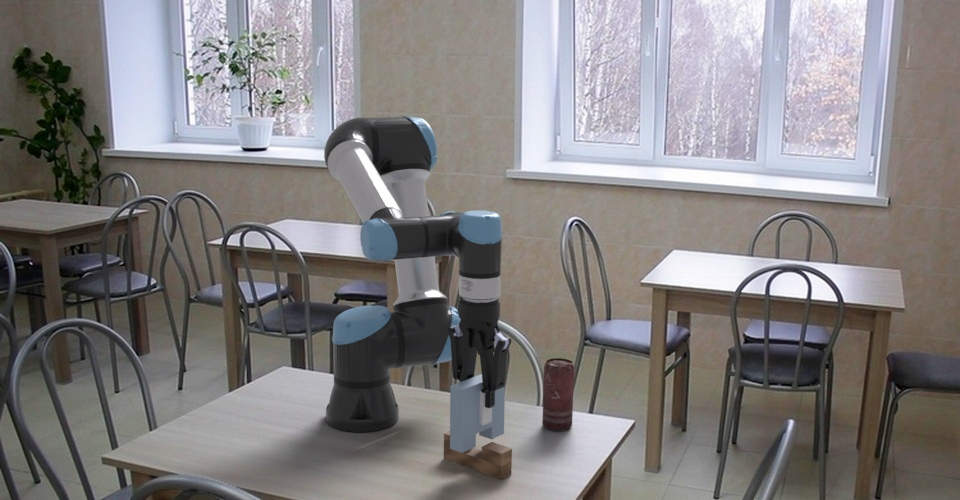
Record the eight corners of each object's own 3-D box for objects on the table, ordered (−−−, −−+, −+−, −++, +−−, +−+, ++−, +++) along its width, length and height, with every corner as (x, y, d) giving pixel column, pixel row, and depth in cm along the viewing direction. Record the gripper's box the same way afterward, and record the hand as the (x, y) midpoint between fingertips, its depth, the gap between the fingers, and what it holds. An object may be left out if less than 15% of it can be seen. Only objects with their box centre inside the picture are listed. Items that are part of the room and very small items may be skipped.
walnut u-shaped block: (443, 458, 187) (443, 433, 186) (454, 453, 189) (454, 428, 188) (501, 479, 178) (501, 453, 177) (511, 474, 180) (511, 448, 179)
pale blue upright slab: (449, 448, 179) (450, 385, 176) (491, 429, 188) (492, 369, 185) (462, 452, 177) (463, 389, 174) (503, 433, 186) (505, 373, 183)
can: (571, 433, 199) (573, 367, 196) (540, 430, 201) (542, 365, 198) (574, 422, 205) (577, 358, 202) (544, 419, 206) (546, 356, 204)
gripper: (432, 293, 179) (431, 415, 184) (501, 309, 169) (498, 437, 174) (459, 286, 184) (458, 404, 189) (527, 301, 174) (524, 425, 179)
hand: (477, 420), depth 181 cm, fingers closed on pale blue upright slab, 3 cm apart
